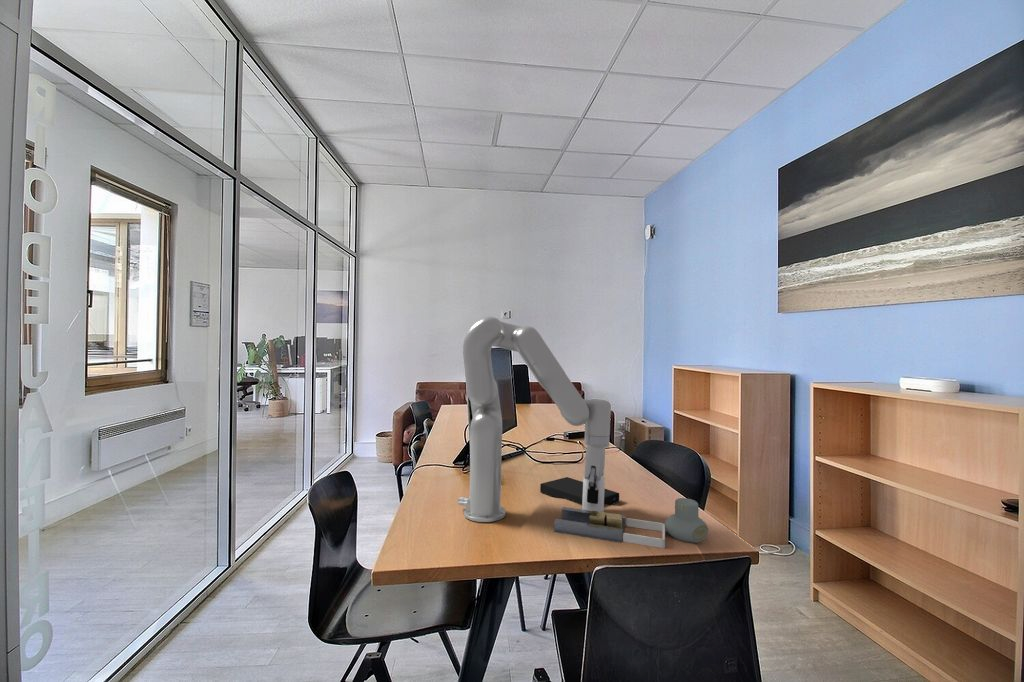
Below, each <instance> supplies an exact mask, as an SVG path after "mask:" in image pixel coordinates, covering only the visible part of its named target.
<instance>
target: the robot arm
mask: <svg viewBox="0 0 1024 682" xmlns="http://www.w3.org/2000/svg"><path fill="white" fill-rule="evenodd" d="M492 347H496V348H500V349H505V350H508V351H511V352H517V353H518V354H519V355H520V357H521V358H522V359H523V361H524V363H525V365H526V366H527V367H528V369H529V370H530V372H531V374H532V375H533V376H534V379H536V380H537V382H538V383H539V385H540V386H541V387H542V389H544V391H545V392H547V394H548V395H549V397H550V398H551V400H552V401H553V402H554V403H555V405H556V407H557V409H558V410H559V413H560V415H561V417H562V418H563V419H564V420H565V421H566V422H567V423H568V424H569V425H571V426H574V427H575V426H576V427H578V426H583V425H584V439H583V440H584V442H583V443H584V446H586V452H585V458H584V459H585V461H584V472H583V473H584V475H583V477H584V478H585V479H587V478H588V477H589V482H588V489H587V502H588V503H594V504H597V503H598V491H599V490H598V481H599V480H601V477H602V475H603V474H604V473H605V462H606V461H605V460H606V448H609V447H610V438H611V437H610V435H611V415H612V414H611V412H612V409H611V408H612V406H611V402H610V401H609V400H606V399H596V398H595V399H594V398H593V399H587V398H586V399H585V398H583V397H582V396H581V394H580V393H579V391H578V390H577V388H576V387H575V385H574V383H573V382H572V381H571V380H570V378H569V376H568V375H567V373H566V372H565V370H564V369H563V367H562V365H561V364H560V362H559V361H558V359H557V358H556V357H555V355H554V353H553V352H552V351H551V349H550V348H549V345H547V343H546V341H545V340H544V339H543V337H542V335H541V333H540V332H538V330H537V329H536V328H534V327H533V326H527V325H525V326H521V325H515V324H512V323H509V322H504V321H501V320H500V319H499V318H496V317H493V316H486V317H484V318H481V319H479V320H478V321H477V322H475V323H474V324H473V325H472V326H471V327H470V328H469V329H468V331H467V333H466V335H465V337H464V340H463V345H462V357H463V365H464V366H463V367H464V376H465V385H466V396H467V398H468V399H469V401H470V408H471V415H472V419H471V422H470V424H469V425H470V427H469V445H470V447H469V449H470V450H469V454H470V455H469V496H468V497H465V496H459V497H458V499H457V500H458V501H457V502H458V503H457V504H458V506H462V507H463V506H464V507H465V508H464V511H463V515H464V516H463V517H465V518H466V519H467V520H469V521H471V522H472V521H473V522H478V523H491V522H496V521H500V520H502V519H504V518H505V516H506V514H507V513H506V509H505V508H504V507H503V506H501V505H502V503H501V502H502V496H501V495H502V451H503V449H502V448H503V447H502V446H503V445H502V444H503V442H502V441H503V417H502V410H501V409H502V408H501V402H500V395H499V388H498V383H497V381H496V379H495V377H494V376H495V375H494V371H493V363H492V361H493V360H492V353H491V352H492ZM603 476H604V475H603ZM595 477H596V478H597V479H594V478H595ZM594 481H595V482H596V485H595V483H594Z"/></svg>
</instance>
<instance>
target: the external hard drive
mask: <svg viewBox="0 0 1024 682" xmlns="http://www.w3.org/2000/svg"><path fill="white" fill-rule="evenodd" d="M539 486H540V487H539V490H540V491H539V492H540V493H542V494H544V495H548V496H550V497H553V498H555V499H561V500H562V499H563V500H567V501H569V502H572V503H575V504H578V505H580V506H582V499H583V480H582V481H581V480H578V479H575V478H573V477H569V476H566V477H561V478H557V479H554V480H550V481H545V482H543V483H540V484H539ZM616 502H618V503H620V492H618V491H613V490H611V489H608V488H607V489H606V488H604V506H606V505H607V506H612V505H615V504H617V503H616ZM614 503H615V504H614Z"/></svg>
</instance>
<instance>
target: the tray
mask: <svg viewBox="0 0 1024 682" xmlns="http://www.w3.org/2000/svg"><path fill="white" fill-rule="evenodd" d="M626 527H631V528H635V529H636V528H638V529H644V530H652V531H657V532H662V538H659V537H655V536H654V537H653V536H646V535H640V534H633V533H628V532H624V533H623V539H622V543H629V544H635V545H642V546H648V547H655V548H660V549H665V548H666V528H665V522H657V521H651V520H643V519H637V518H636V519H635V518H631V517H630V518H628V517H626Z"/></svg>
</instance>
